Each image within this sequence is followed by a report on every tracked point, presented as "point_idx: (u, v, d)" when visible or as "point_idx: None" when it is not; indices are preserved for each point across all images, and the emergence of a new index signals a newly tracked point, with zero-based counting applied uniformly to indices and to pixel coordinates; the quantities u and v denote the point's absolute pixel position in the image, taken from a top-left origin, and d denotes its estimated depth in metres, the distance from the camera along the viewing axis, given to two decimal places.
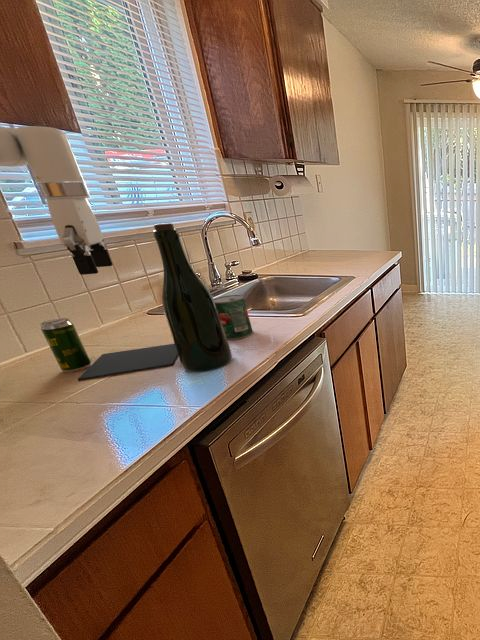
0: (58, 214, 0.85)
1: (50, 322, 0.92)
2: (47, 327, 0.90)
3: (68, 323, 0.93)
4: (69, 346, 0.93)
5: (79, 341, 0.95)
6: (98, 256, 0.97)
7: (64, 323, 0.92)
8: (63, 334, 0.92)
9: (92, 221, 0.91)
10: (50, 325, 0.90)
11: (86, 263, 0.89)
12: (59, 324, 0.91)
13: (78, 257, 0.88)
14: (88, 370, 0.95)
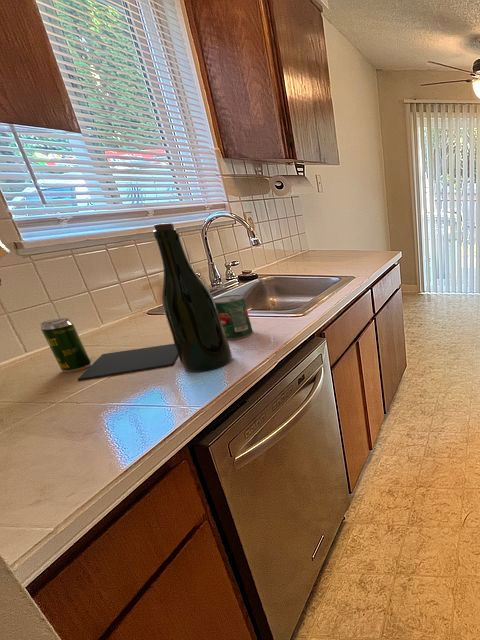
0: None
1: (50, 322, 0.92)
2: (47, 327, 0.90)
3: (68, 323, 0.93)
4: (69, 346, 0.93)
5: (79, 341, 0.95)
6: None
7: (64, 323, 0.92)
8: (63, 334, 0.92)
9: None
10: (50, 325, 0.90)
11: None
12: (59, 324, 0.91)
13: None
14: (88, 370, 0.95)
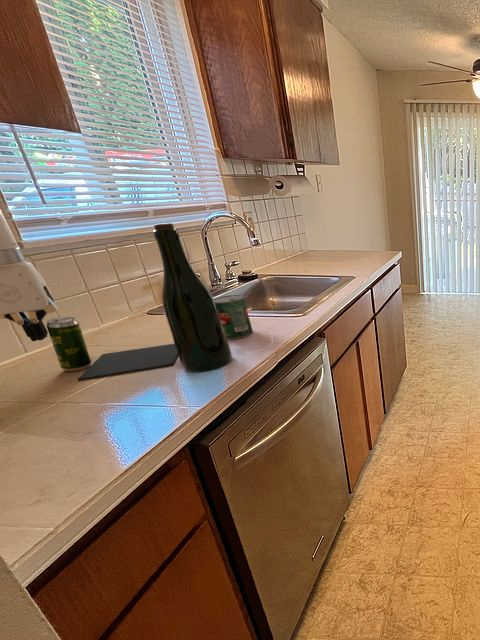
0: (36, 277, 0.87)
1: (56, 320, 0.92)
2: (53, 325, 0.91)
3: (75, 322, 0.93)
4: (72, 345, 0.93)
5: (83, 341, 0.96)
6: None
7: (71, 322, 0.92)
8: (68, 333, 0.92)
9: None
10: (57, 323, 0.91)
11: (44, 327, 0.92)
12: (66, 323, 0.92)
13: (39, 322, 0.91)
14: (88, 370, 0.95)
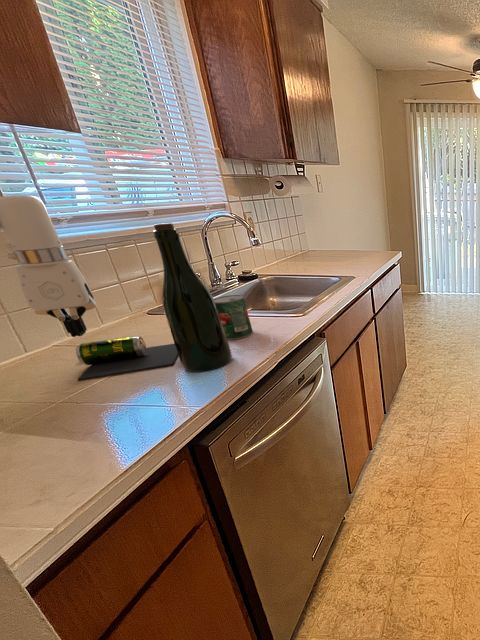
0: (78, 274, 0.90)
1: (140, 342, 1.01)
2: (136, 346, 0.99)
3: (142, 355, 1.02)
4: (113, 358, 0.98)
5: None
6: None
7: (142, 355, 1.01)
8: (128, 355, 0.99)
9: None
10: (139, 348, 0.99)
11: (83, 323, 0.95)
12: (140, 353, 1.00)
13: (79, 318, 0.94)
14: (88, 370, 0.95)
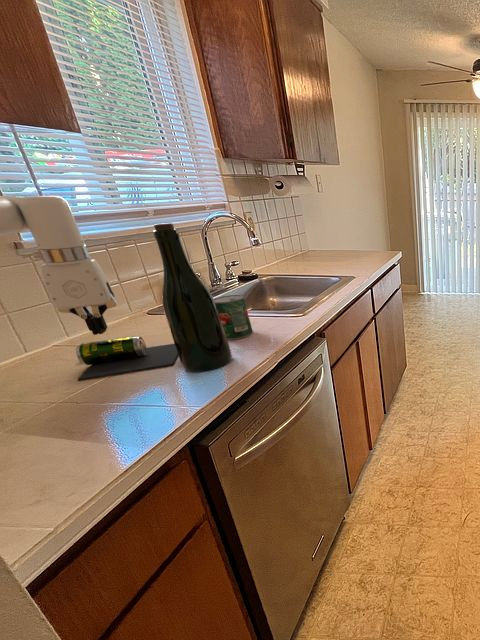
0: (100, 273, 0.92)
1: (140, 342, 1.01)
2: (136, 346, 0.99)
3: (142, 355, 1.02)
4: (113, 358, 0.98)
5: None
6: None
7: (142, 355, 1.01)
8: (128, 355, 0.99)
9: None
10: (139, 348, 0.99)
11: (104, 321, 0.96)
12: (140, 353, 1.00)
13: (101, 316, 0.95)
14: (88, 370, 0.95)
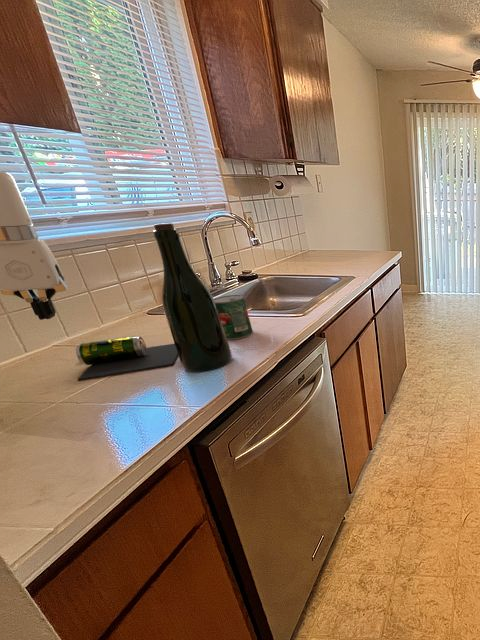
0: (48, 255, 0.87)
1: (140, 342, 1.01)
2: (136, 346, 0.99)
3: (142, 355, 1.02)
4: (113, 358, 0.98)
5: None
6: None
7: (142, 355, 1.01)
8: (128, 355, 0.99)
9: None
10: (139, 348, 0.99)
11: (53, 306, 0.91)
12: (140, 353, 1.00)
13: (48, 301, 0.90)
14: (88, 370, 0.95)
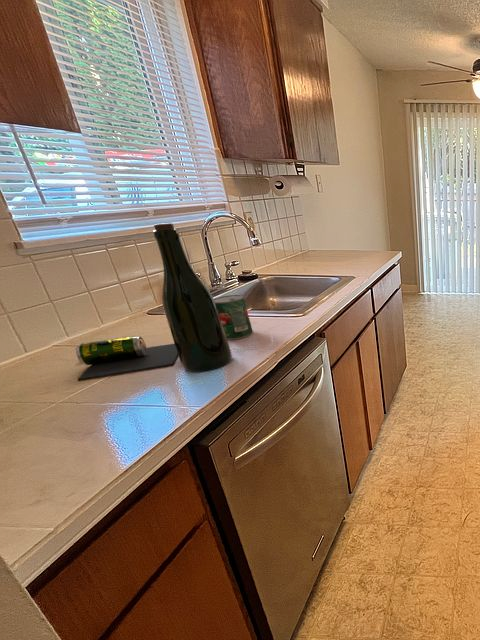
0: None
1: (140, 342, 1.01)
2: (136, 346, 0.99)
3: (142, 355, 1.02)
4: (113, 358, 0.98)
5: None
6: None
7: (142, 355, 1.01)
8: (128, 355, 0.99)
9: None
10: (139, 348, 0.99)
11: None
12: (140, 353, 1.00)
13: None
14: (88, 370, 0.95)
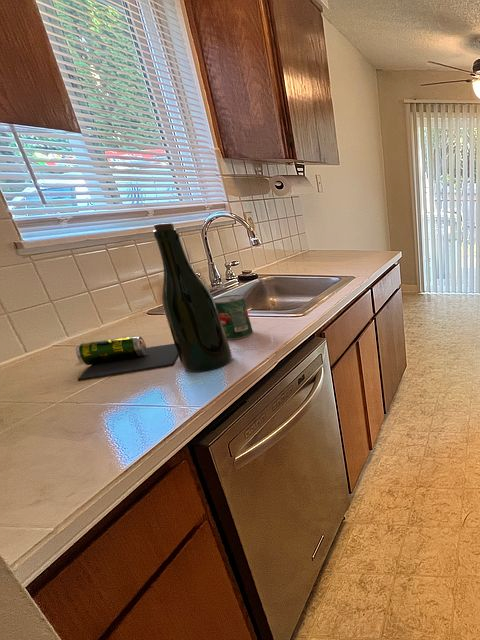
0: None
1: (140, 342, 1.01)
2: (136, 346, 0.99)
3: (142, 355, 1.02)
4: (113, 358, 0.98)
5: None
6: None
7: (142, 355, 1.01)
8: (128, 355, 0.99)
9: None
10: (139, 348, 0.99)
11: None
12: (140, 353, 1.00)
13: None
14: (88, 370, 0.95)
